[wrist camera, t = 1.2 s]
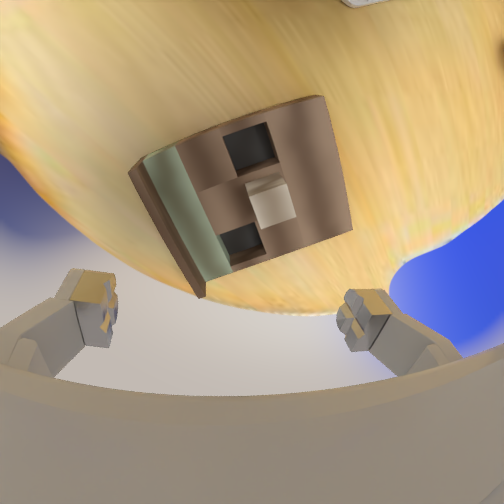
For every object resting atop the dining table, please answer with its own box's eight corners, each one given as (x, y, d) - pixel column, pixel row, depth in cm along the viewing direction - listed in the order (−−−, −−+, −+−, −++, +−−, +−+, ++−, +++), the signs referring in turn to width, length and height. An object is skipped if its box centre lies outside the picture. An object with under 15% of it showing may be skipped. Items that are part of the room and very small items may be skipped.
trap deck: (314, 94, 30) (334, 97, 25) (344, 219, 40) (362, 241, 35) (140, 158, 31) (127, 172, 26) (199, 270, 41) (198, 298, 36)
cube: (278, 171, 32) (286, 183, 28) (287, 202, 34) (296, 216, 30) (244, 183, 32) (248, 196, 29) (255, 213, 34) (261, 229, 31)
